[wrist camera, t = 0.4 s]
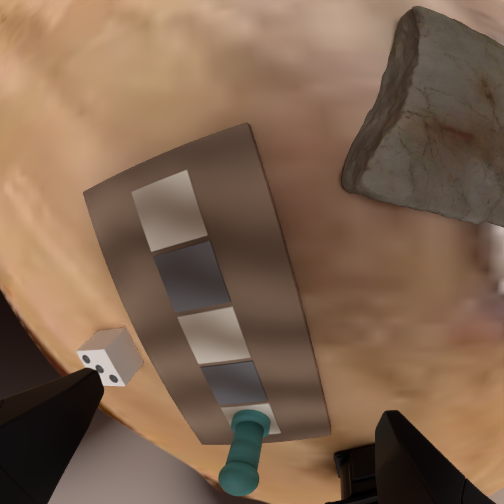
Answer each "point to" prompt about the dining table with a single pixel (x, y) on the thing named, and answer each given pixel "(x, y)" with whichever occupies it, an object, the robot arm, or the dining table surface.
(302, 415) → the board
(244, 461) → the pawn
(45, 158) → the dining table surface
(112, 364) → the die
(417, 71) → the marble piece
